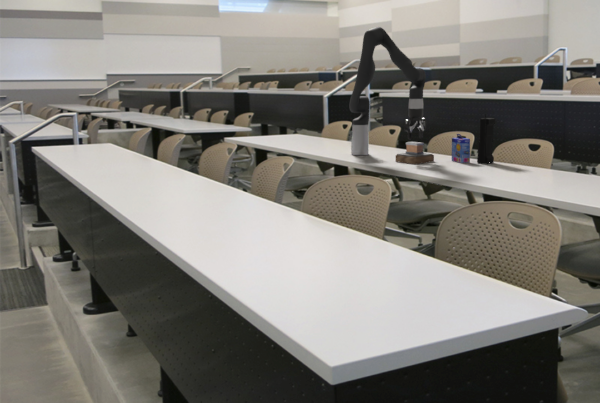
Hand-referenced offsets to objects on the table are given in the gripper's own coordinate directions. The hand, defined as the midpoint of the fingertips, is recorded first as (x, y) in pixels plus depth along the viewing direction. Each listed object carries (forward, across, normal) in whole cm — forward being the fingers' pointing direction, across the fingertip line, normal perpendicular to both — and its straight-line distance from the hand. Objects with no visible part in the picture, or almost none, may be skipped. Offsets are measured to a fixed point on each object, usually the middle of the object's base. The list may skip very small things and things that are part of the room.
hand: (415, 138), depth 334 cm
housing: (+8, 0, 0) cm, 8 cm away
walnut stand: (+12, 0, 0) cm, 12 cm away
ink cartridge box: (+12, +15, -17) cm, 26 cm away
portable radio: (+12, +20, -29) cm, 38 cm away
